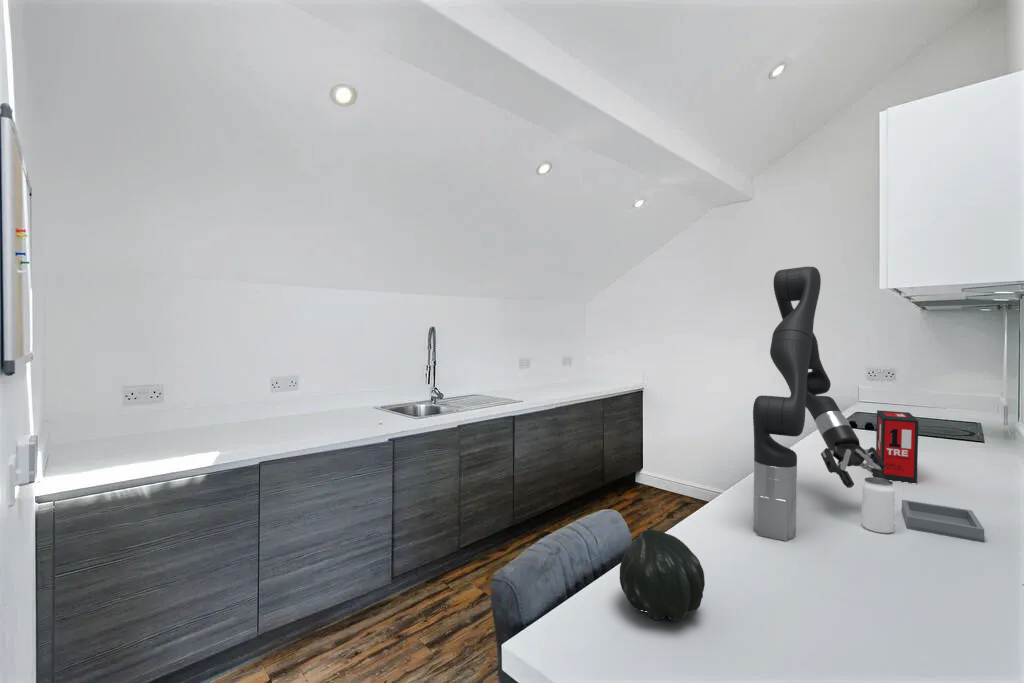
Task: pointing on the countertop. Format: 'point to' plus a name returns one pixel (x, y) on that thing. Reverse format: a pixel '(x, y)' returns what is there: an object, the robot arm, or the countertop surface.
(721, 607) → the countertop surface
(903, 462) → the cleaning product box
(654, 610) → the squash
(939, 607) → the countertop surface
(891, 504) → the can
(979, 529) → the tray
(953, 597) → the countertop surface
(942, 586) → the countertop surface
